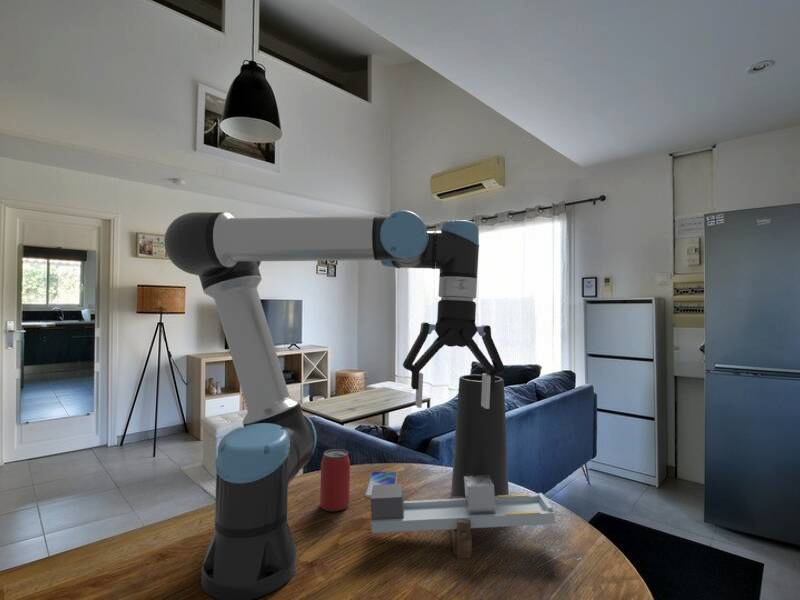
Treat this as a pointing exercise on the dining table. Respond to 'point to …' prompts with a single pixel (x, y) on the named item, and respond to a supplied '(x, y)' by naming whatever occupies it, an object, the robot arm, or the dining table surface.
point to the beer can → (335, 480)
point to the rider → (479, 495)
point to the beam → (452, 511)
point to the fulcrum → (462, 537)
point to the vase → (480, 436)
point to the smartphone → (380, 480)
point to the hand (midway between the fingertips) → (452, 406)
